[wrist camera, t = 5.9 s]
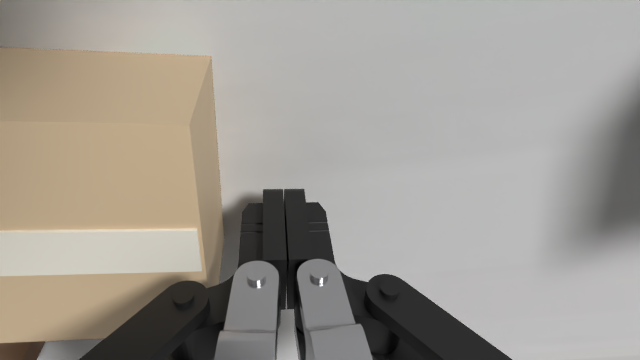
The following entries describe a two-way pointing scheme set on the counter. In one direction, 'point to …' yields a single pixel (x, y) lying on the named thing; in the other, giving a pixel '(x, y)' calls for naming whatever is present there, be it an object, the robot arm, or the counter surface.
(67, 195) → the kraft carton
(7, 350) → the brown wooden u-shaped piece
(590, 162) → the counter surface
